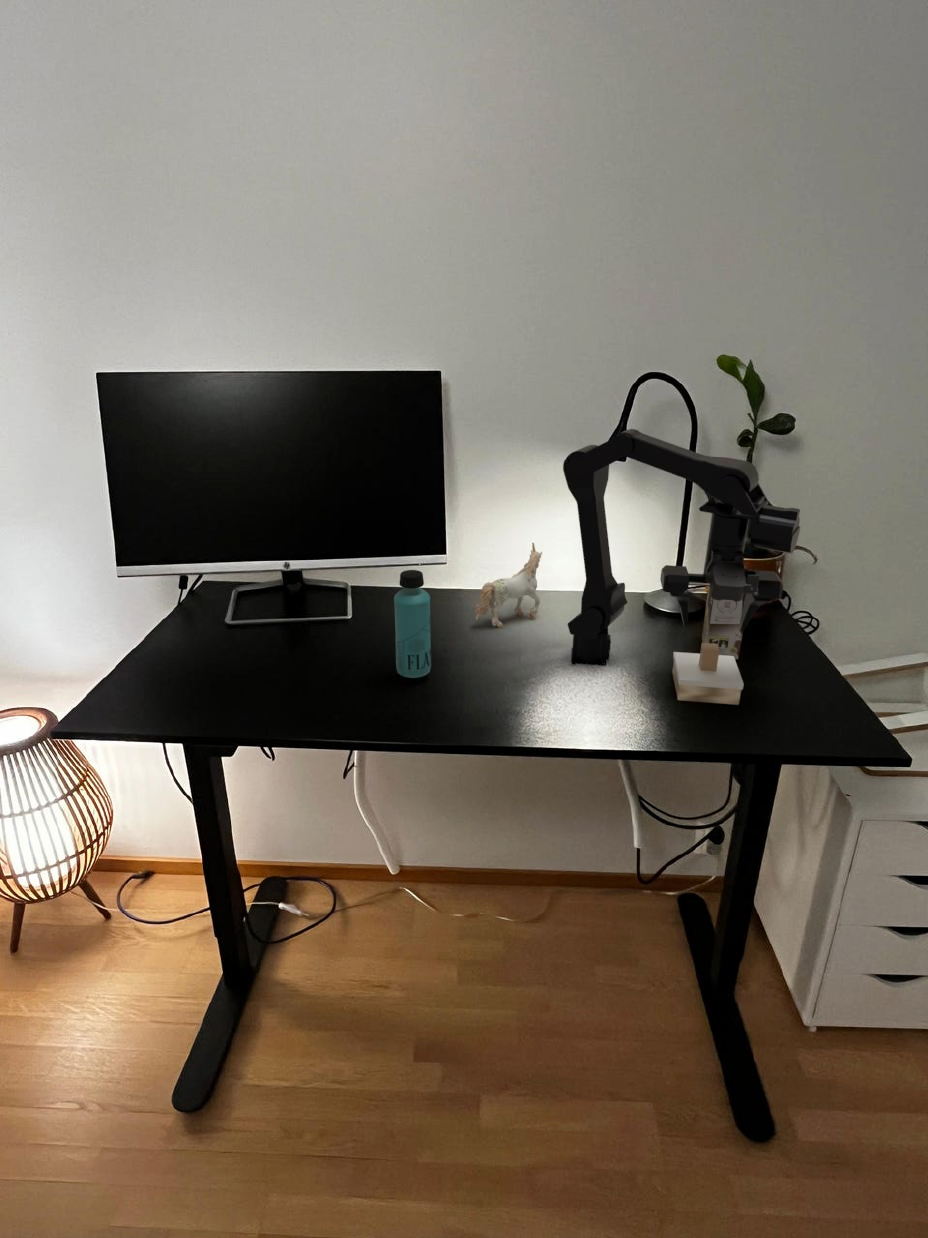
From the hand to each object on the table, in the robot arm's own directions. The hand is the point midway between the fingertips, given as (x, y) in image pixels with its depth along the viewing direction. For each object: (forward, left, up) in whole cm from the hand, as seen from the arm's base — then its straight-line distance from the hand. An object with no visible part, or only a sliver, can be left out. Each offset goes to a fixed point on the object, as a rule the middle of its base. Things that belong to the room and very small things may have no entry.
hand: (713, 628), depth 136 cm
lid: (0, 0, -8) cm, 8 cm away
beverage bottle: (-51, -3, -12) cm, 53 cm away
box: (0, 0, -12) cm, 12 cm away
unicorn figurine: (-37, +27, -12) cm, 47 cm away
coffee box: (+5, +17, -12) cm, 21 cm away
